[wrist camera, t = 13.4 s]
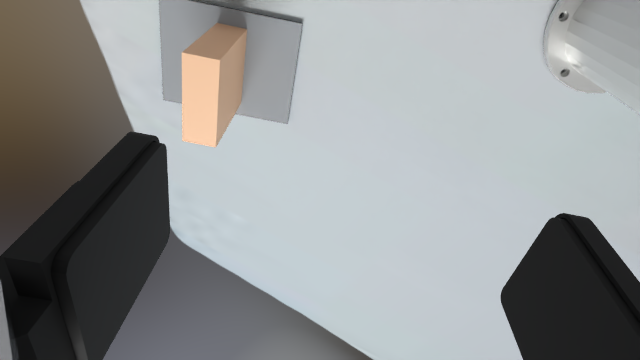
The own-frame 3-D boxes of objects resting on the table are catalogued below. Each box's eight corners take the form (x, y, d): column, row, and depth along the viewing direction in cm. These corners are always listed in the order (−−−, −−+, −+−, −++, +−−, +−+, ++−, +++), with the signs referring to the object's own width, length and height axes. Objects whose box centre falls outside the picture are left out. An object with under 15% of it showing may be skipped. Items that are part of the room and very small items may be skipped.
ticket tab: (247, 29, 39) (219, 60, 31) (241, 103, 44) (215, 147, 36) (217, 22, 39) (181, 52, 31) (214, 97, 44) (182, 141, 35)
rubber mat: (302, 23, 39) (302, 24, 39) (287, 122, 45) (287, 124, 45) (160, -7, 38) (158, -6, 38) (164, 98, 45) (163, 100, 44)
